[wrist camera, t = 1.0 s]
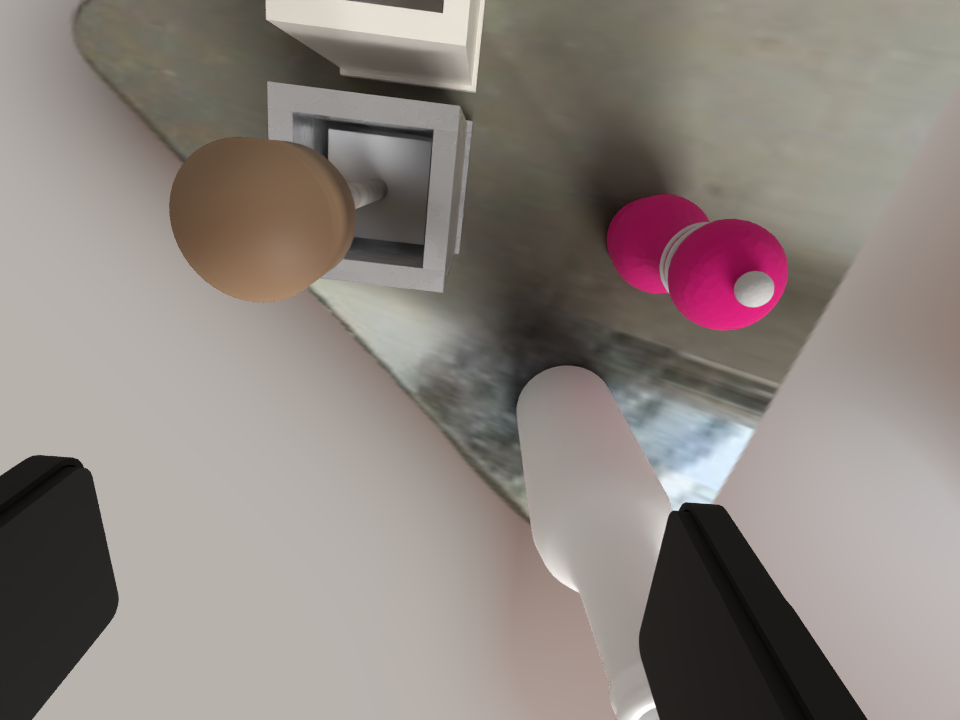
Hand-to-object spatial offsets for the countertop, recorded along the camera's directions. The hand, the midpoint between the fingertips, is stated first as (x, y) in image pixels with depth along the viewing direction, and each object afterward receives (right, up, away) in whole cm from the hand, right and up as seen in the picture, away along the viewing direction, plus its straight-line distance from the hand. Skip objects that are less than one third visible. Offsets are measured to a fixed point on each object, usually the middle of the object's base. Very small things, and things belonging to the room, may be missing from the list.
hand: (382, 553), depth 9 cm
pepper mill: (+15, +13, +36) cm, 41 cm away
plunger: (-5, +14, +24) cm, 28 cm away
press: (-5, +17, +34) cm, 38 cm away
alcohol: (+9, -1, +41) cm, 42 cm away
